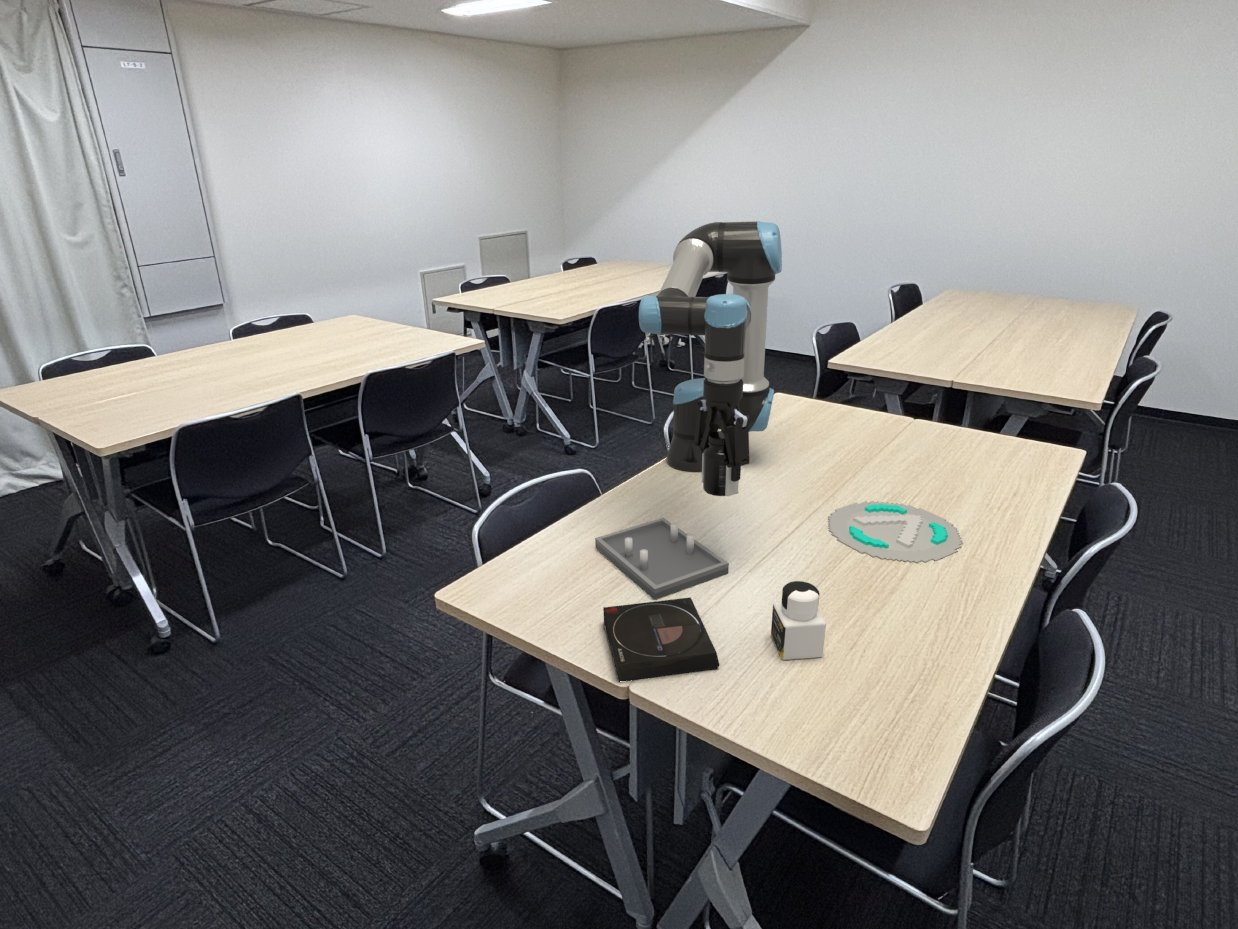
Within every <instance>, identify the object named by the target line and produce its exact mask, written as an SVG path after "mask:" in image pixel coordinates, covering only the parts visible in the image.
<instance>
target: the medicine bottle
mask: <svg viewBox="0 0 1238 929" xmlns="http://www.w3.org/2000/svg"><path fill="white" fill-rule="evenodd" d="M781 593H782V594H781V601H778V602H777V601H776V602H773V604H772V613H771V614H772V616H771V629H770V636H771V639H772V641H773V643H774V645H775V647H776V650H777V652H778V654H779V655H780V659H781V660H782V661H787V660H788V661H790V660H803V659H805V660H806V659H813V658H814V659H817V658H822V657H823V656H824V646H825V638H826V628H827V622H826V620H825V619H824V617H823V615H822V614H821V613H820V611H819V603H820V602H819V601H820V591H819V589H818V588H817V587H816V586H815V585H813V584H812V583H809V582H807V581H803V580H802V581H801V580H794V581H790V582H788V583H786V584H785V585H784V586H783V587H782V592H781Z"/></svg>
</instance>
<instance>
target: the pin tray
mask: <svg viewBox="0 0 1238 929" xmlns="http://www.w3.org/2000/svg"><path fill="white" fill-rule="evenodd" d="M594 543H595V545H594V546H595V549H596V550H597V551H598V552H599V553H601V554H602V556H604V557H605V558H606V559H608V561H610V562H611V563H612V564H613V565H614V566H615V567H617V569H619V570H620V571H621V572H622V573H624V574H625V576H627V577H628V578H629V579H630V580H631V581H632V582H633V583H635V584H636V585H637V586H638V587H639V588H640V589H641V590H643V592H645V593H646V594H647V595H649V596H650V597H651V598H652V599H653V601H654V600H655V601H657V600H660V599H662V598H664V597H668V596H670V595H673V594H677V593H679V592H681V591H685V590H687V589H690V588H693V587H695V586H697V585H701V584H704V583H707V582H709V581H713V580H715V579H717V578H720V577H723V576H726V575H728V574H729V568H730V564H729V562H728V561H727V560H725V559H724V558H722V557H721V556H720V555H718V554H716V553H715V552H714V551H713V550H711V549H709V548H708V547H706V546H705V545H703V543H701V542H699V541H698V540H697V539H696V538H695V535H694V534H692V533H691V534H690V533H689V534H688V533H686V532H685V531H684V530H682V529H680V528H679V525H678V523H675V522H673V523H672V522H670V521H669V520H668V519H666V518H664V517H661V518H657V519H654V520H651V521H650V520H649V521H648V522H645V523H641V524H637V525H634V526H631V527H627V528H624V529H621V530H618V531H617V530H616V531H614V532H611V533H607V534H604V535H601V536H598V537H595V538H594Z"/></svg>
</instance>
